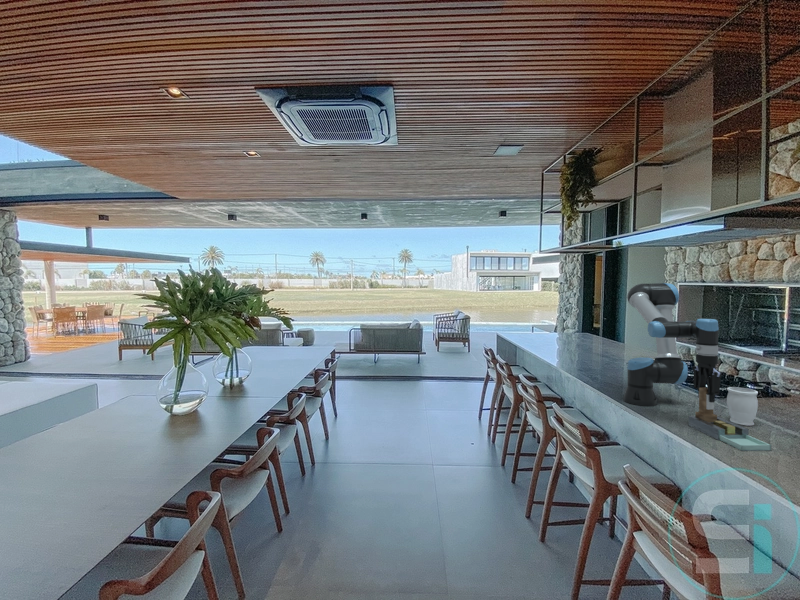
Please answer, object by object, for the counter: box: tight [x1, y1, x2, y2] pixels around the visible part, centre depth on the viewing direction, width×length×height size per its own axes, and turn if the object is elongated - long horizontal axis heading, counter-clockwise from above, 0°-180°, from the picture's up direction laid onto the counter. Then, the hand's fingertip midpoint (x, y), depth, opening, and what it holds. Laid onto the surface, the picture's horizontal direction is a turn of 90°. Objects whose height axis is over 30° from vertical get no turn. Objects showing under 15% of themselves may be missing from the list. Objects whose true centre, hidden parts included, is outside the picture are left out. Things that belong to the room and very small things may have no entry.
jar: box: [726, 386, 759, 427], centre depth 172 cm, size 11×10×15 cm
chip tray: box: [718, 434, 772, 452], centre depth 149 cm, size 10×11×2 cm
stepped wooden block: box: [694, 387, 718, 422], centre depth 167 cm, size 5×6×14 cm
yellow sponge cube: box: [721, 424, 735, 434], centre depth 156 cm, size 3×3×3 cm
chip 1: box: [714, 421, 727, 428], centre depth 160 cm, size 3×3×3 cm
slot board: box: [688, 415, 750, 441], centre depth 162 cm, size 16×12×4 cm
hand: (706, 407), depth 168 cm, fingers closed on stepped wooden block, 3 cm apart
